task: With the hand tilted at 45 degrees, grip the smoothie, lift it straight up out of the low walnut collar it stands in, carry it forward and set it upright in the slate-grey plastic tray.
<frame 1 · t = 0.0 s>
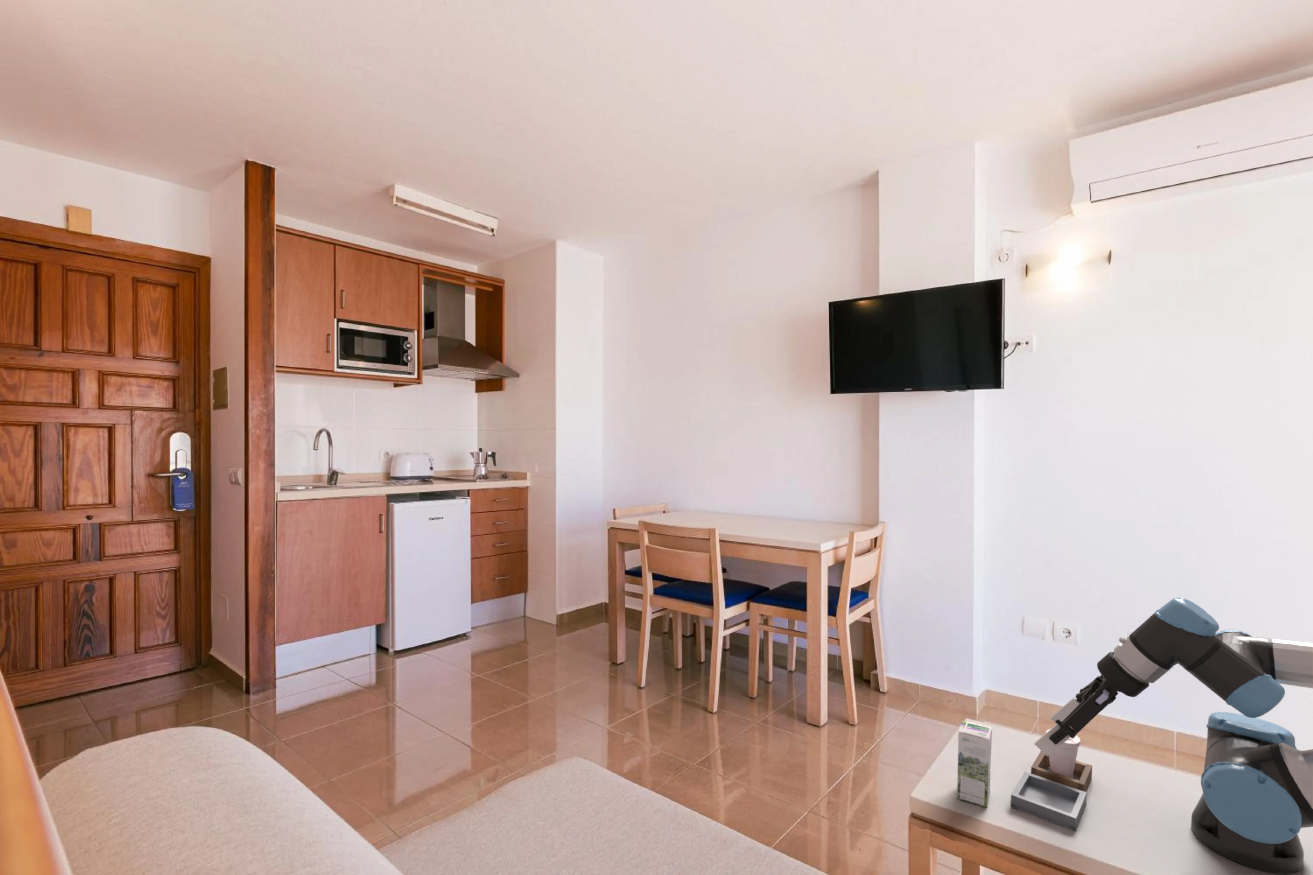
hand: (1049, 735, 127), 15 cm above the table, tool tilted 35°, fingers open, 13 cm apart
tray: (1048, 805, 129), on the table
collar: (1061, 779, 138), on the table
smoothie: (1061, 780, 138), resting in collar
syrup box: (973, 797, 132), on the table
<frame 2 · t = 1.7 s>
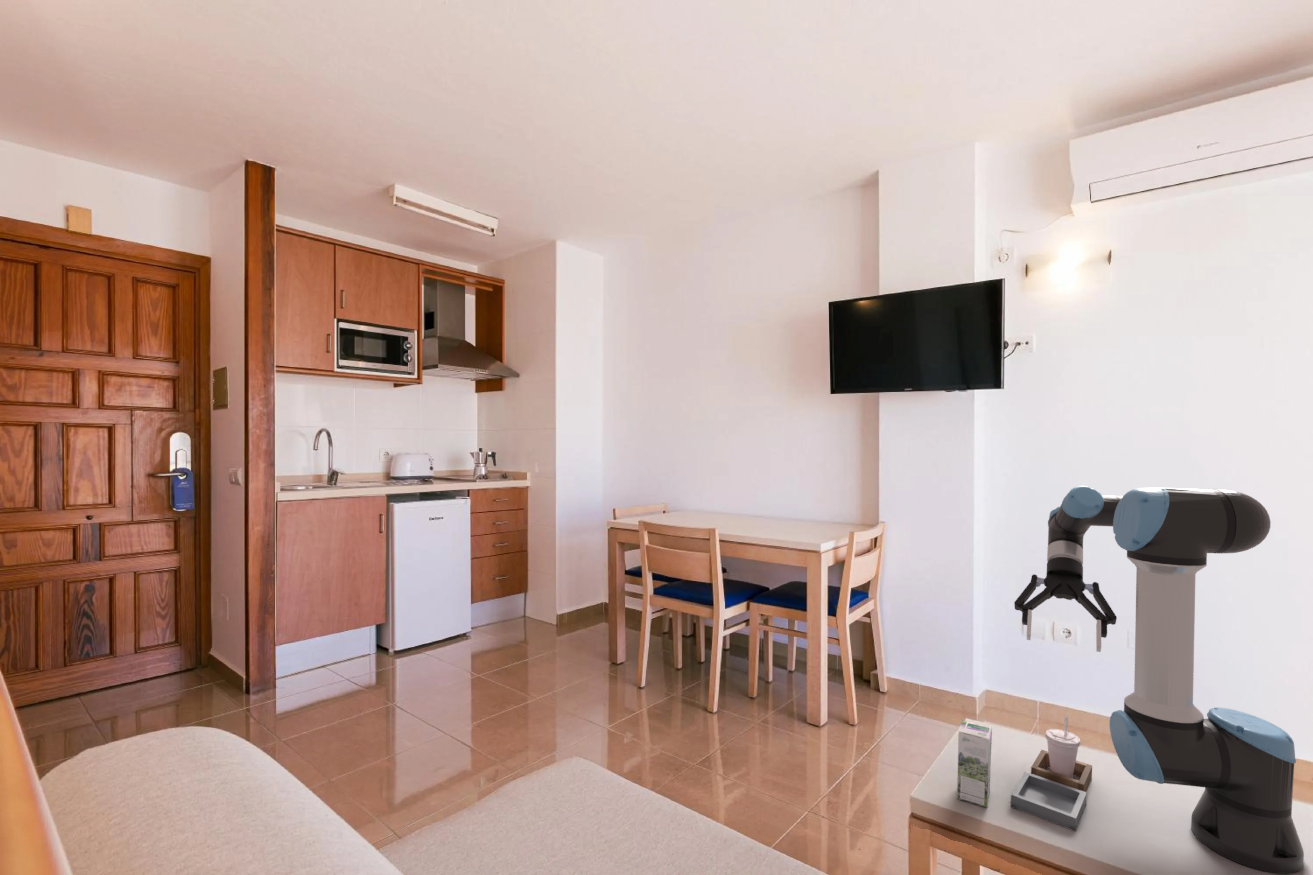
hand: (1062, 643, 148), 26 cm above the table, tool tilted 45°, fingers open, 13 cm apart
nothing on the table moved.
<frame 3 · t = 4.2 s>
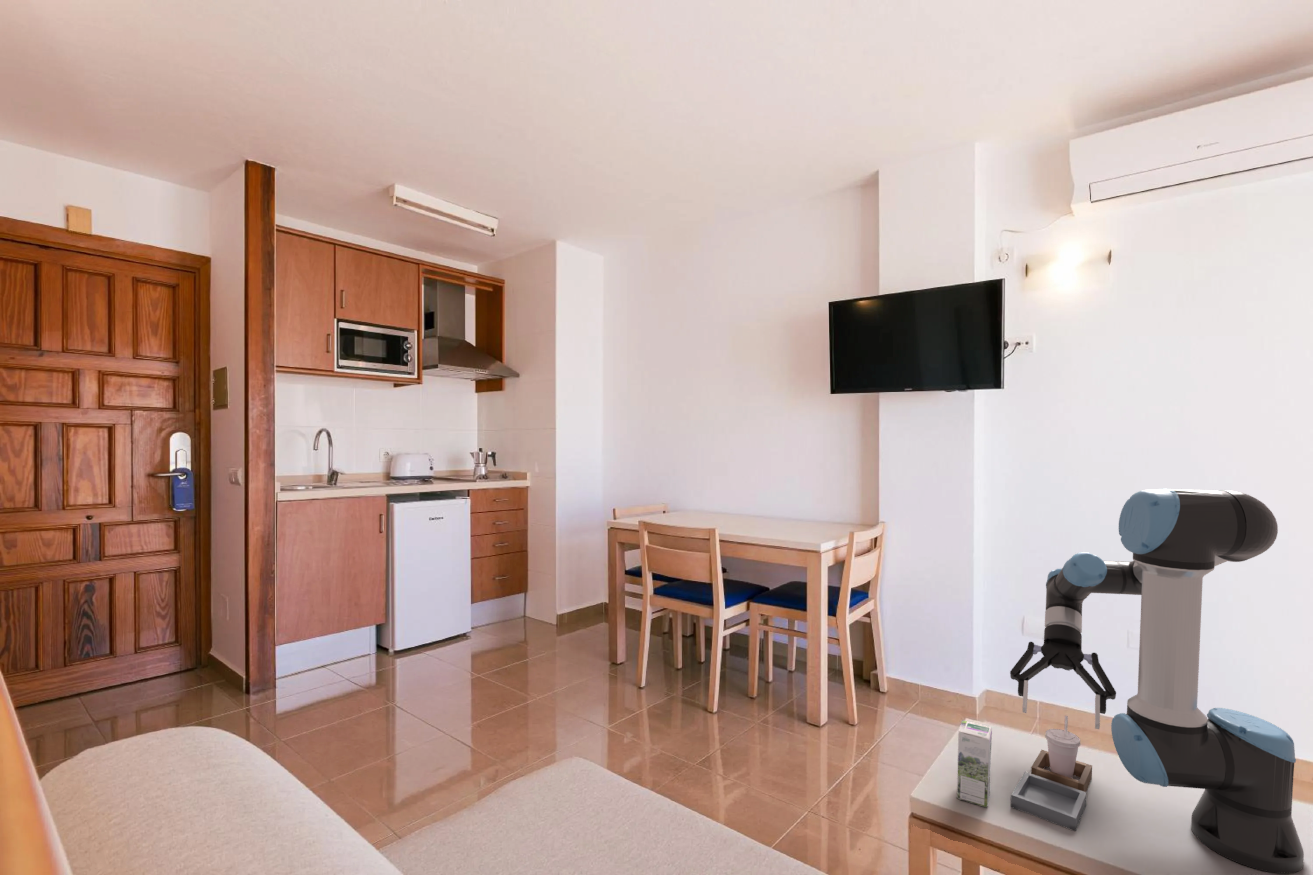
hand: (1060, 718, 142), 11 cm above the table, tool tilted 45°, fingers open, 13 cm apart
nothing on the table moved.
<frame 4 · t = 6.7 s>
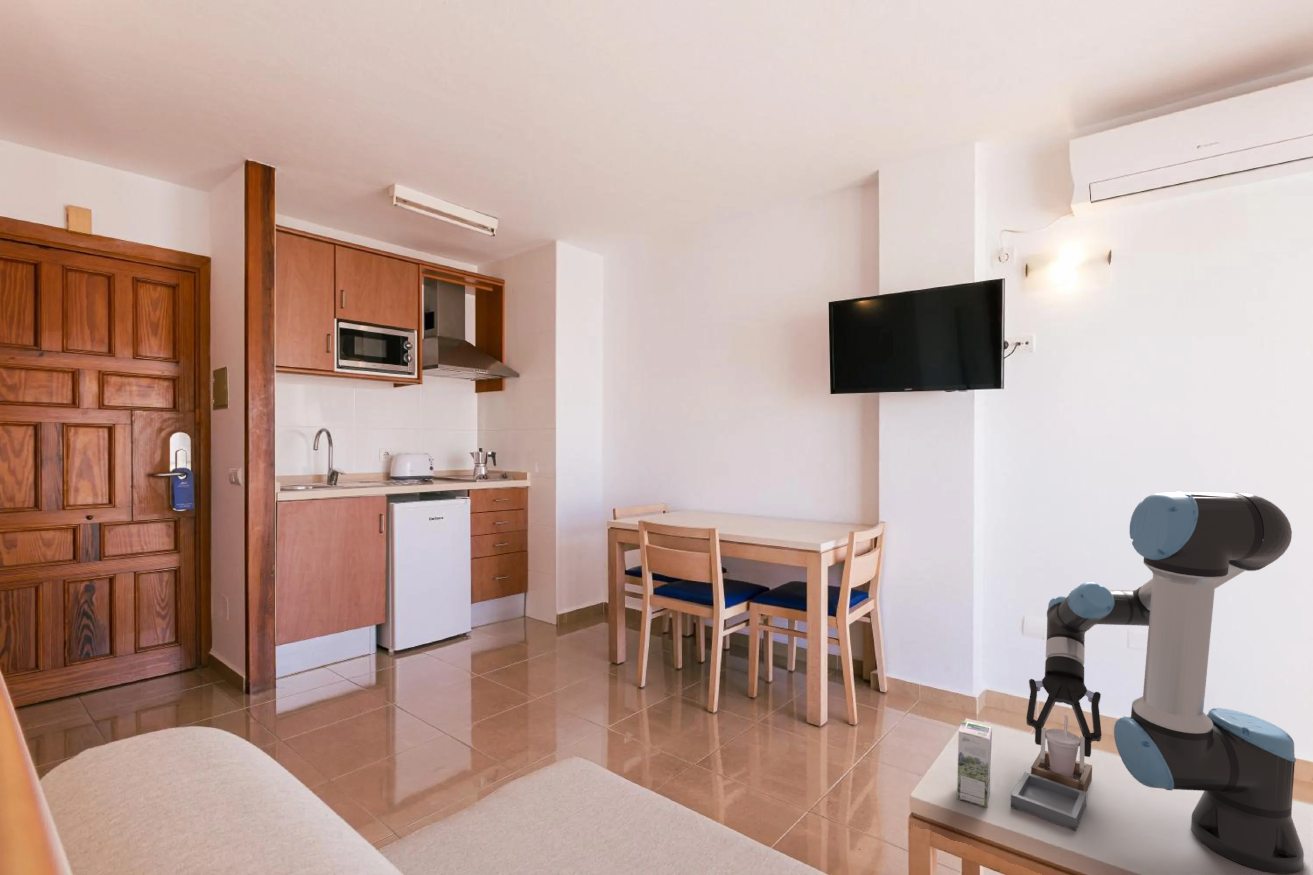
hand: (1061, 765, 135), 5 cm above the table, tool tilted 45°, fingers closed on smoothie, 6 cm apart
smoothie: (1061, 780, 138), resting in collar, touching gripper
everything else where it was.
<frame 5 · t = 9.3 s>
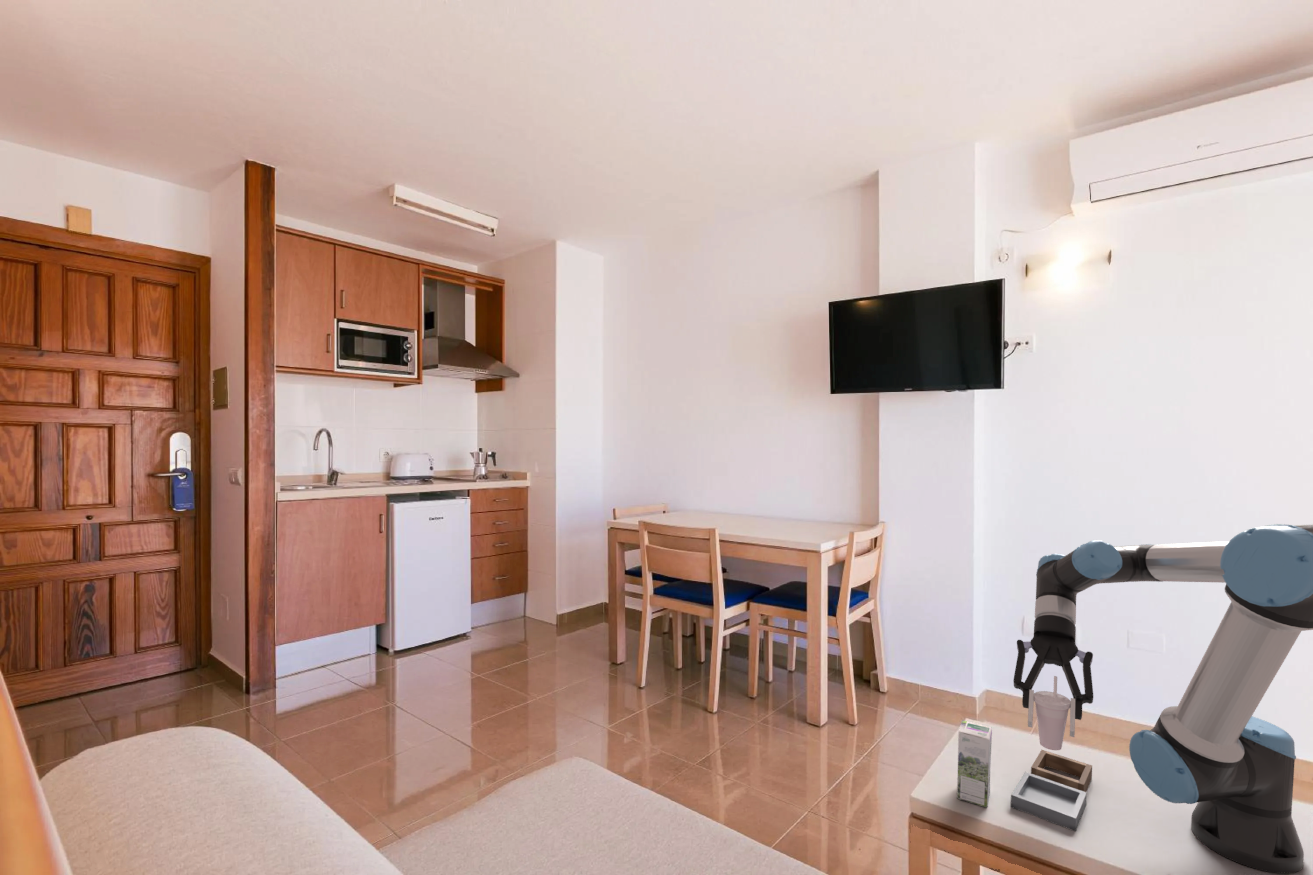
hand: (1050, 728, 126), 17 cm above the table, tool tilted 45°, fingers closed on smoothie, 6 cm apart
smoothie: (1050, 746, 129), point 12 cm above the table, touching gripper
everything else where it was.
when the fingers open (7 cm above the table, at t = 11.9 s): smoothie drops 1 cm, resting on tray.
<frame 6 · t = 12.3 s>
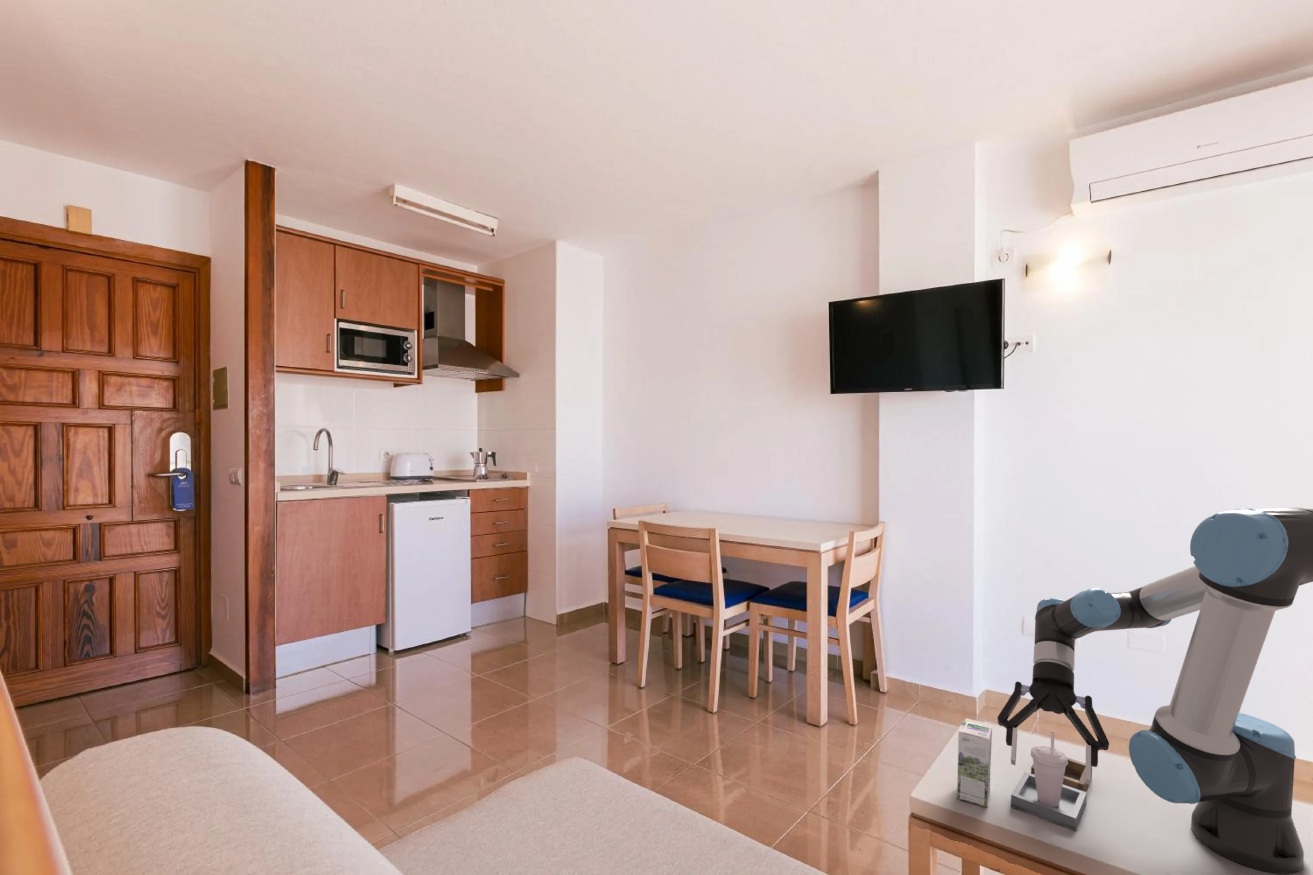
hand: (1049, 772, 127), 8 cm above the table, tool tilted 45°, fingers open, 12 cm apart
smoothie: (1048, 802, 129), point 1 cm above the table, touching tray
everything else where it was.
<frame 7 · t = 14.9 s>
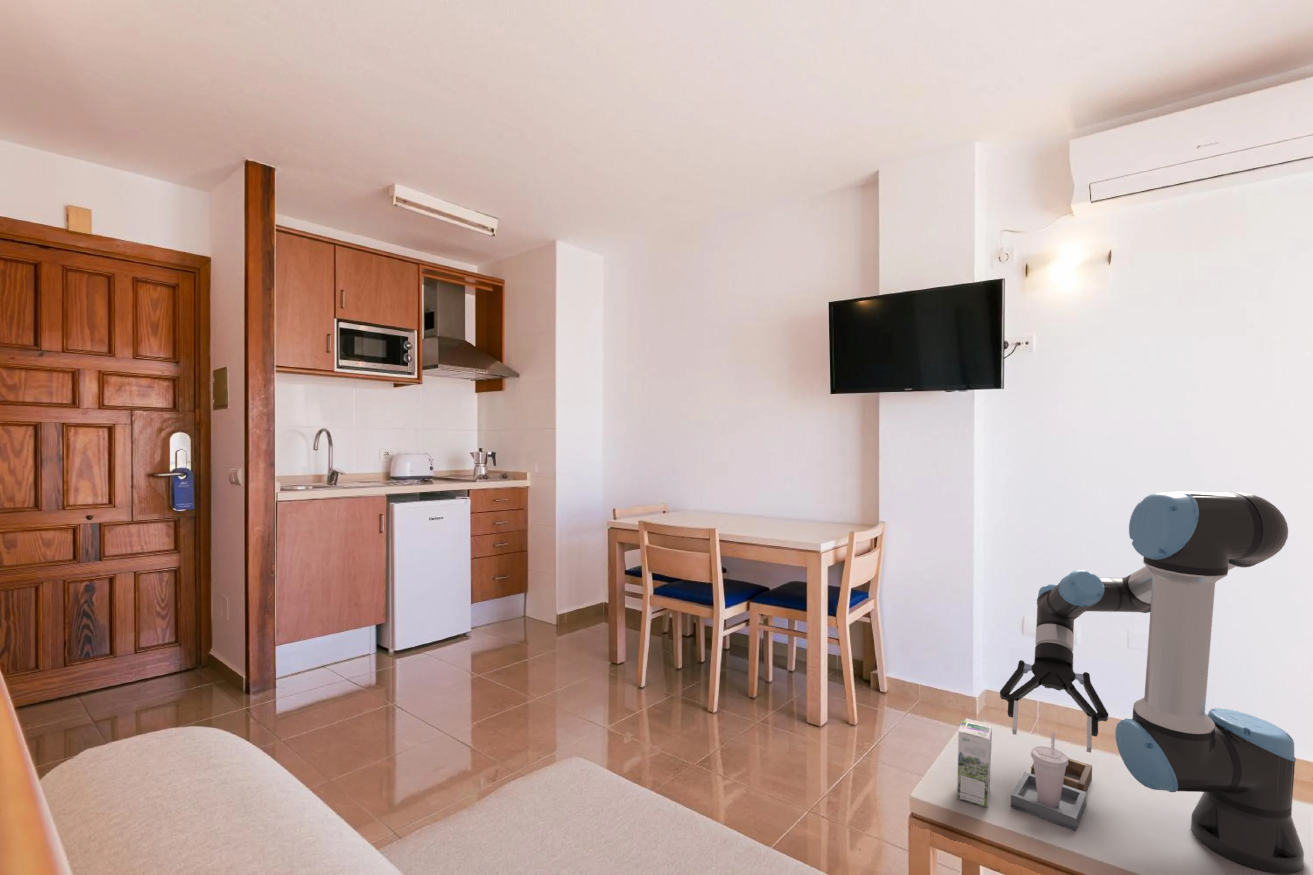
hand: (1050, 740, 138), 8 cm above the table, tool tilted 45°, fingers open, 13 cm apart
nothing on the table moved.
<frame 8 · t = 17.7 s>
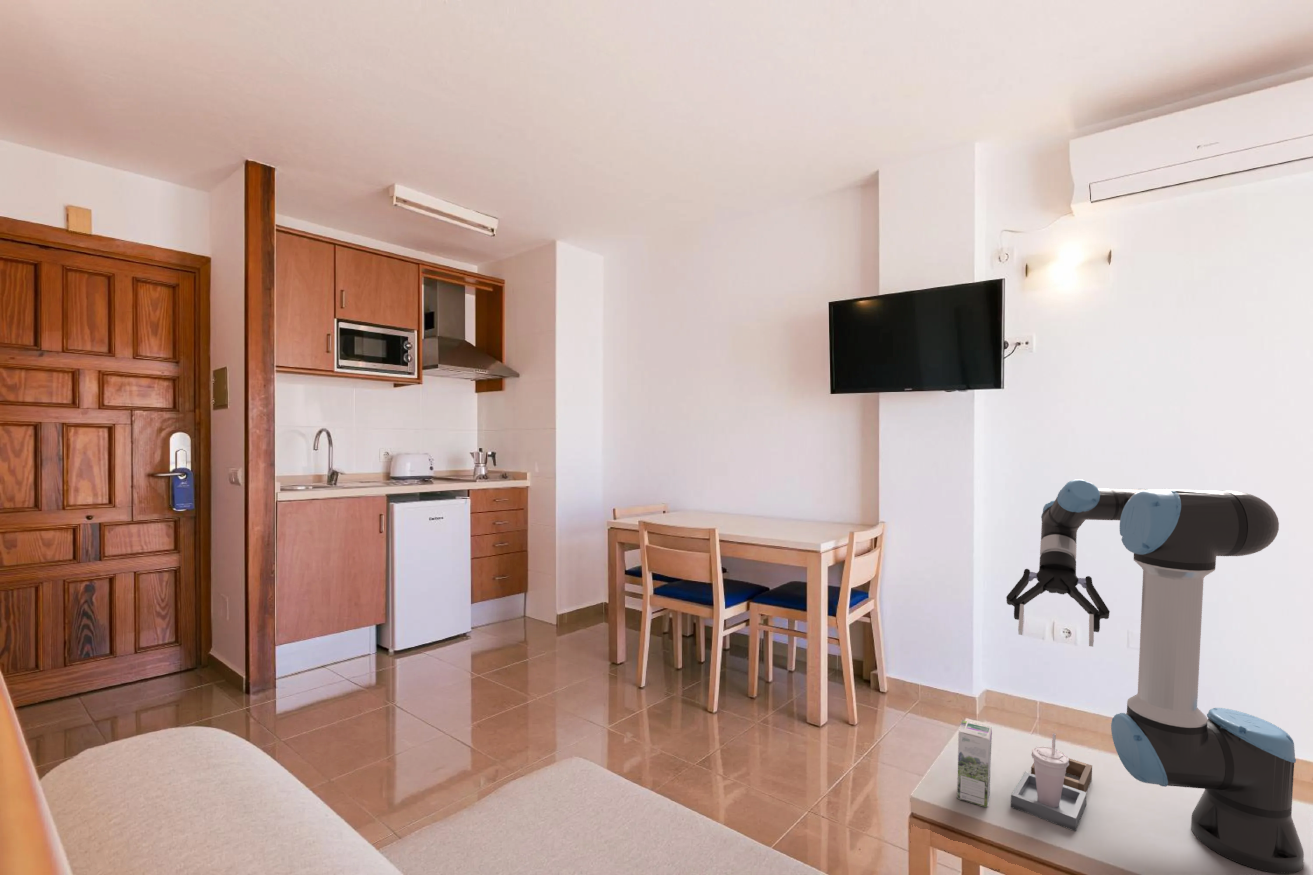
hand: (1054, 637, 146), 28 cm above the table, tool tilted 45°, fingers open, 13 cm apart
nothing on the table moved.
at the end: smoothie 0.1 cm off-centre on the tray, point 0.6 cm above the tray's base; smoothie tilted 1°; the gripper is holding nothing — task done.
